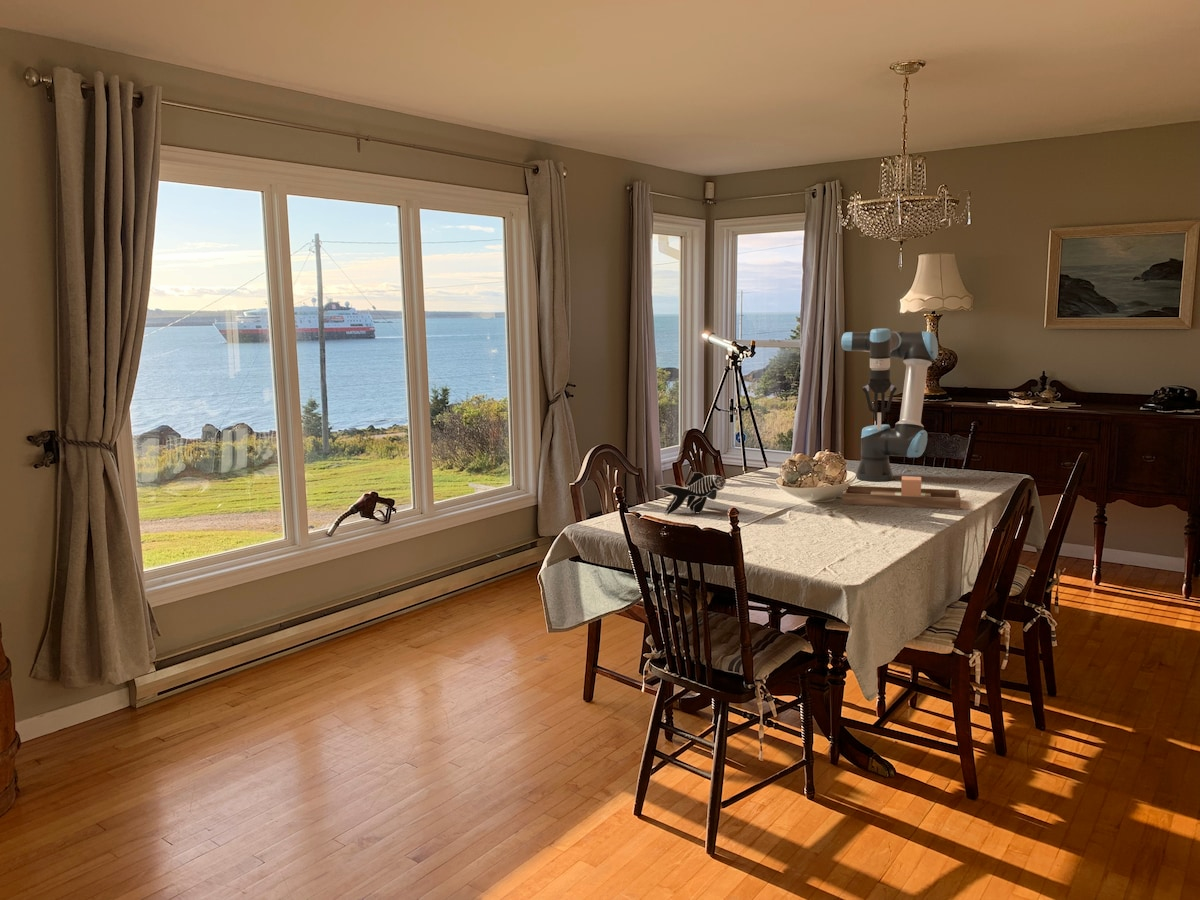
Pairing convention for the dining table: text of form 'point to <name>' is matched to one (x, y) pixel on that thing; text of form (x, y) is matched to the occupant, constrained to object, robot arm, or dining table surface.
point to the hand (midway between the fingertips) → (879, 429)
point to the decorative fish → (693, 492)
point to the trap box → (901, 497)
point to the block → (911, 486)
